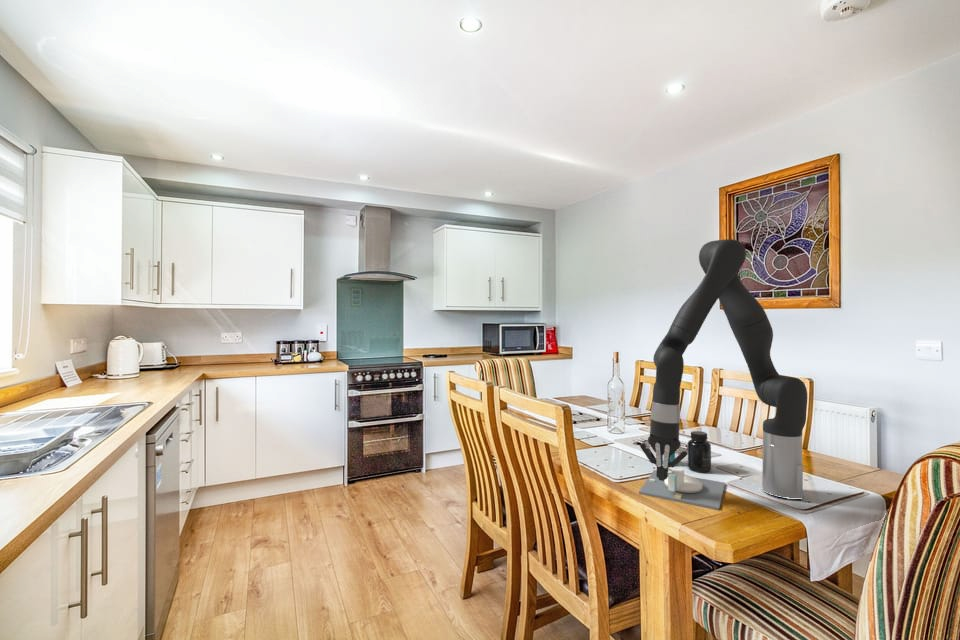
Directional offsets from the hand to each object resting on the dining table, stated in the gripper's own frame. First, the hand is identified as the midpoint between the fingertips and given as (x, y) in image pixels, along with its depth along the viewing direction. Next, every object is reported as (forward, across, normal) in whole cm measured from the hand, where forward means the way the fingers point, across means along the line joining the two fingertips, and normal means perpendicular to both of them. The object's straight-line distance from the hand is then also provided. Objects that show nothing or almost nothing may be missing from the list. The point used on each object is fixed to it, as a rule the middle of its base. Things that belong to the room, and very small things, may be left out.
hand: (662, 479), depth 126 cm
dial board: (+4, +4, +7) cm, 9 cm away
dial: (+3, +4, +5) cm, 7 cm away
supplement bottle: (+4, +6, +27) cm, 28 cm away
